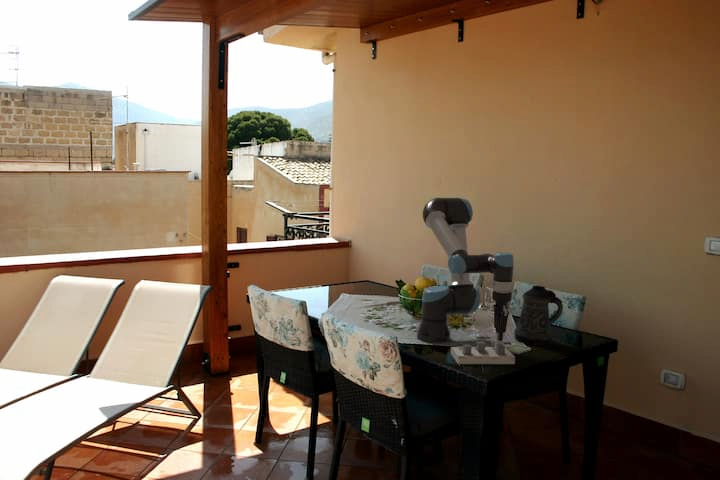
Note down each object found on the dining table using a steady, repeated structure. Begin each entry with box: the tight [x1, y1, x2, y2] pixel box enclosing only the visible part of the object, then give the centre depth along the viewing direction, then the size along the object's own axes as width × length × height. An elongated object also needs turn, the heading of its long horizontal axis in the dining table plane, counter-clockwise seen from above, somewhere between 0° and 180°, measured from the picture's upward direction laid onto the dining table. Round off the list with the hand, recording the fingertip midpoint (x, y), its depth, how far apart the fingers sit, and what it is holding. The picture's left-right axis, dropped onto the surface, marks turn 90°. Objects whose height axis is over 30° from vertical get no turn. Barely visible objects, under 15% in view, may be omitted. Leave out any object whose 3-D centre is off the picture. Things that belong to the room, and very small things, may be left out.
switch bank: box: [450, 346, 516, 365], centre depth 243 cm, size 13×23×3 cm, turn 95°
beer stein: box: [514, 285, 564, 346], centre depth 271 cm, size 16×19×25 cm
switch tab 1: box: [462, 344, 473, 356], centre depth 240 cm, size 4×3×4 cm
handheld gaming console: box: [490, 339, 532, 355], centre depth 259 cm, size 10×2×15 cm
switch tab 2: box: [475, 340, 486, 353], centre depth 245 cm, size 4×3×4 cm
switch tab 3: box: [495, 344, 505, 356], centre depth 242 cm, size 4×3×4 cm
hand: (498, 347), depth 244 cm, fingers closed
